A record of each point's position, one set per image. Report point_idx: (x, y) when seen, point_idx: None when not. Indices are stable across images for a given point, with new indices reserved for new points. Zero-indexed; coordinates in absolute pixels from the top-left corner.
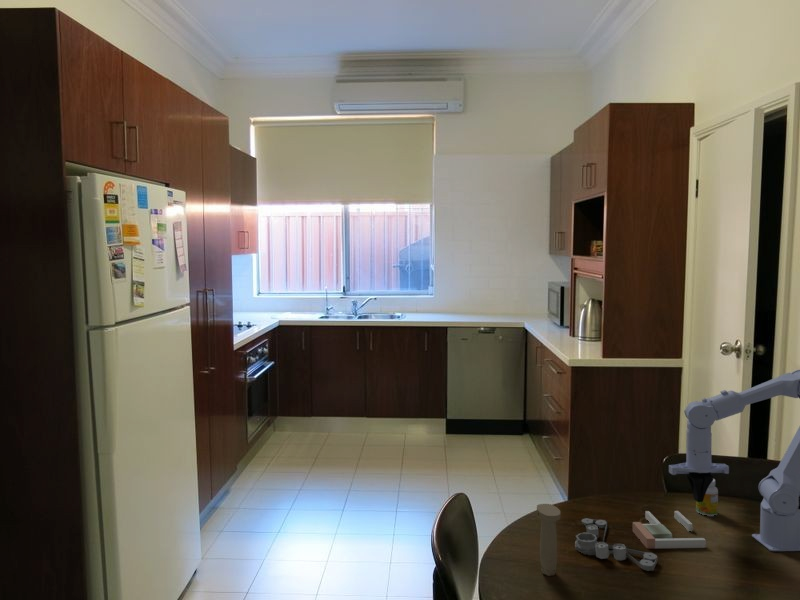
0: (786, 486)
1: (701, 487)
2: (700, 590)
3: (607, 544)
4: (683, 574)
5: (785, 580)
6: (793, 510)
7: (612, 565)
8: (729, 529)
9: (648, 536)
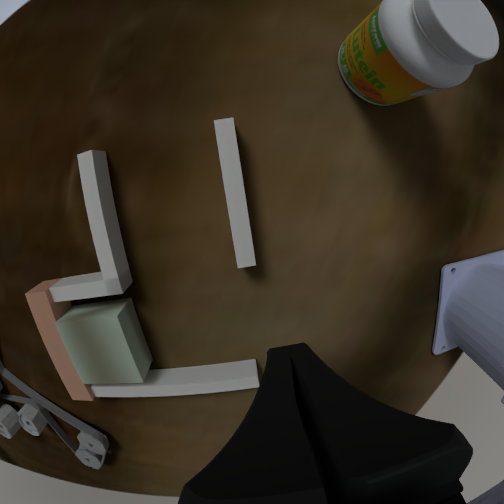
0: None
1: (317, 466)
2: None
3: (8, 428)
4: (163, 465)
5: None
6: None
7: None
8: (403, 217)
9: (74, 388)
